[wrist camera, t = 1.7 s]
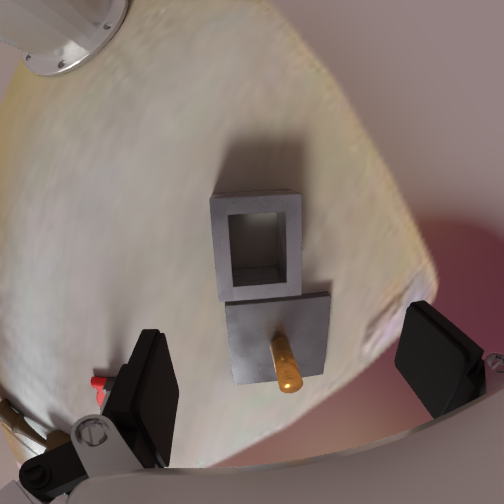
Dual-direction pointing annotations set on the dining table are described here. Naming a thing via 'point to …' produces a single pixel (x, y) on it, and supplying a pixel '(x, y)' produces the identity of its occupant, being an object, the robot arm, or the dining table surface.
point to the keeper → (278, 338)
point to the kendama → (30, 428)
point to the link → (289, 245)
